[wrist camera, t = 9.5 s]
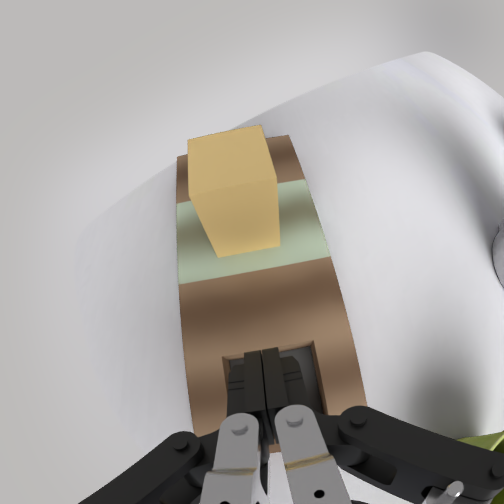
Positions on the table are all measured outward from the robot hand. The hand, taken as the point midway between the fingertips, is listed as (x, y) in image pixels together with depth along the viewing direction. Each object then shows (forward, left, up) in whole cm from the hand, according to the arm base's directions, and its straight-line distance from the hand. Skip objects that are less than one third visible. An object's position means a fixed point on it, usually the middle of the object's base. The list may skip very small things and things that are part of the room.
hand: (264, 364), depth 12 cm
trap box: (-7, -4, -10) cm, 13 cm away
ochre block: (-10, -6, -7) cm, 14 cm away
